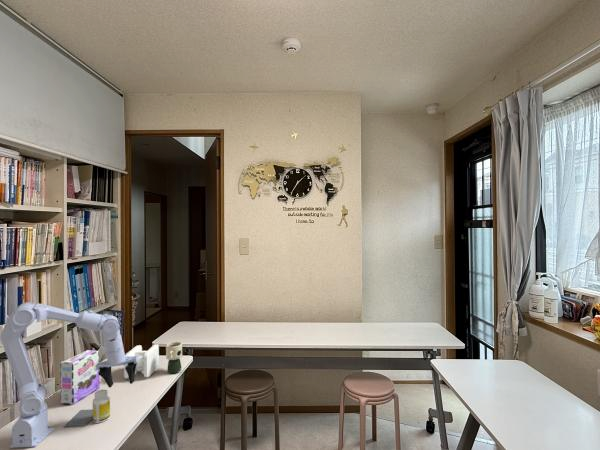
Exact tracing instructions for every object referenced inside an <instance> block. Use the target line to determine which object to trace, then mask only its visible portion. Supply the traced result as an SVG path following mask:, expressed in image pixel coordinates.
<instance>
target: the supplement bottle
mask: <svg viewBox="0 0 600 450" xmlns="http://www.w3.org/2000/svg"><path fill="white" fill-rule="evenodd" d="M94 392H95V393H94V399H93V400H92V409H93V418H92V422H93V423H95V424H100V423H104V422H106V421H108V420H109V419H110V418H111V398H110V396H109V395H108V390H107V389H100V390H99V389H98V390H96V391H94Z"/></svg>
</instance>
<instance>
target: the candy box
mask: <svg viewBox="0 0 600 450" xmlns="http://www.w3.org/2000/svg"><path fill="white" fill-rule="evenodd" d="M97 363H100V352H99V350H92V349H91V350H90V349H87V350H85V351H83V352H80V353H79V354H76V355H74V356H72V357H69V358H68V359H65V360H64V361H63V360H62V361H61V362H60V364H59V367H60V404H63V405H64V404H65V405H71V406H72V405H75V404H77V403H78V402H80V401H81V400H83V399H85V398H86V397H88V396H90V395H91V394H93V393H94V392H97V391H99V389H100V375H99V374H98V372H99V370H96V366H95V365H96V364H97Z"/></svg>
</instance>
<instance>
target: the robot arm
mask: <svg viewBox="0 0 600 450" xmlns="http://www.w3.org/2000/svg"><path fill="white" fill-rule="evenodd" d="M35 320H36V323H40V322H42V321H43V322H44V321H45V320H56V321H60V322H67V323H73V324H75V325H76V327H77V328H79V329H84V330H89V331H94V332H101V334H102V336H103V344H104V349H105V355H106V360H104V361H99V363H97V364H96V365H95V366H96V370H99V372H98V374H99V377H101V378H102V379H103V380H104V382H105V383H106V385H107V387H108V388H112V387H113V385H114V380H113V376H112V375H113V374H112V373H113V372H112V367H113V368H114V367H118V366H124V365H125V364H128V365H127V366H126V367H125V369H126V371H127V373H128V377H129V378H128V381H129V384H131V385H132V384H133V383H134V382H135V376H136V375H135V369H136V365H137V363H138V361H139V358H138V356H125V355H126V353H125V349H124V343H123V339H122V334H121V330H120V323H119V320H118V318H117V317H116V316H114V315H112V314H106V313H104V314H101V313H96V312H94V310H91V309H89V310H88V311H87V310H84V311H82V312H80V313H78V312H74V311H70V310H67V309H64V308H59V307H55V306H51V305H47V304H44V303H35V302H33V301H32V302H31V301H26V302H24V303H21V304H20V305H18V306H17V307H16V308H15V310H14V311H13V312H11V314H10V315H9V316H8V317H7V318H6V321H5V324H4V326H3V328H2V331H1V333H0V341H1V344H2V346H3V350H4V352H5V355H6V357H7V360H8V363H9V366H10V368H11V371H12V374H13V377H14V379H15V382H16V385H17V387H18V398H19V406H18V409H19V417H18V419H17V420H16V422H14V424H13V425H12V428H11V433H12V435H11V437H12V443H11V445H9V448H10V449H15V448H17V449H18V448H34V447H37V445H39V444H40V443H41V442H42V441H43V440H44V439H46V437H47V436H49V435H50V434H51V433H52V432H53V431H54V430H55V428H54V427H49V424H48V423H49V422H48V421H49V420H48V419H49V418H48V417H49V416H48V404H47V403H46V401H45V400H46V397H47V394H48V389H47V387H46V386H44V384H42V383H41V381H40V379H39V378H38V377H37V375H36V371H35V370H34V369H35V368H34V366H33V364H32V361H31V359H30V356H29V352H28V350H27V347H26V344H25V341H24V339H23V337H22V334H23V333H24V331H25V329H27V328H28V327H29V326H31V325H32V324H33V323H34V322H35Z"/></svg>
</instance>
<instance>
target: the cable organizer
mask: <svg viewBox="0 0 600 450" xmlns="http://www.w3.org/2000/svg"><path fill="white" fill-rule="evenodd" d="M125 356H138V358H139V361H138V363H137V365H136V369H135V375H134V376H137V372H141V375H144V378H150V377H151V376H152V374H153V373H154V372H155V371H156V370H158V367H159V365H160V347H159V344H155V343H154V345H152V346H151V347H150V348H149V349H148V350H143V347H142V345H140V344H139V345H136V346H134V347H133V348H132V349H131V350H129V351H128V352H126V353H125ZM127 365H128V364H125V365H123V373H124V374H123V376H124V379H129V377H128V373H127V371H126V369H125V367H126V366H127Z"/></svg>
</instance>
